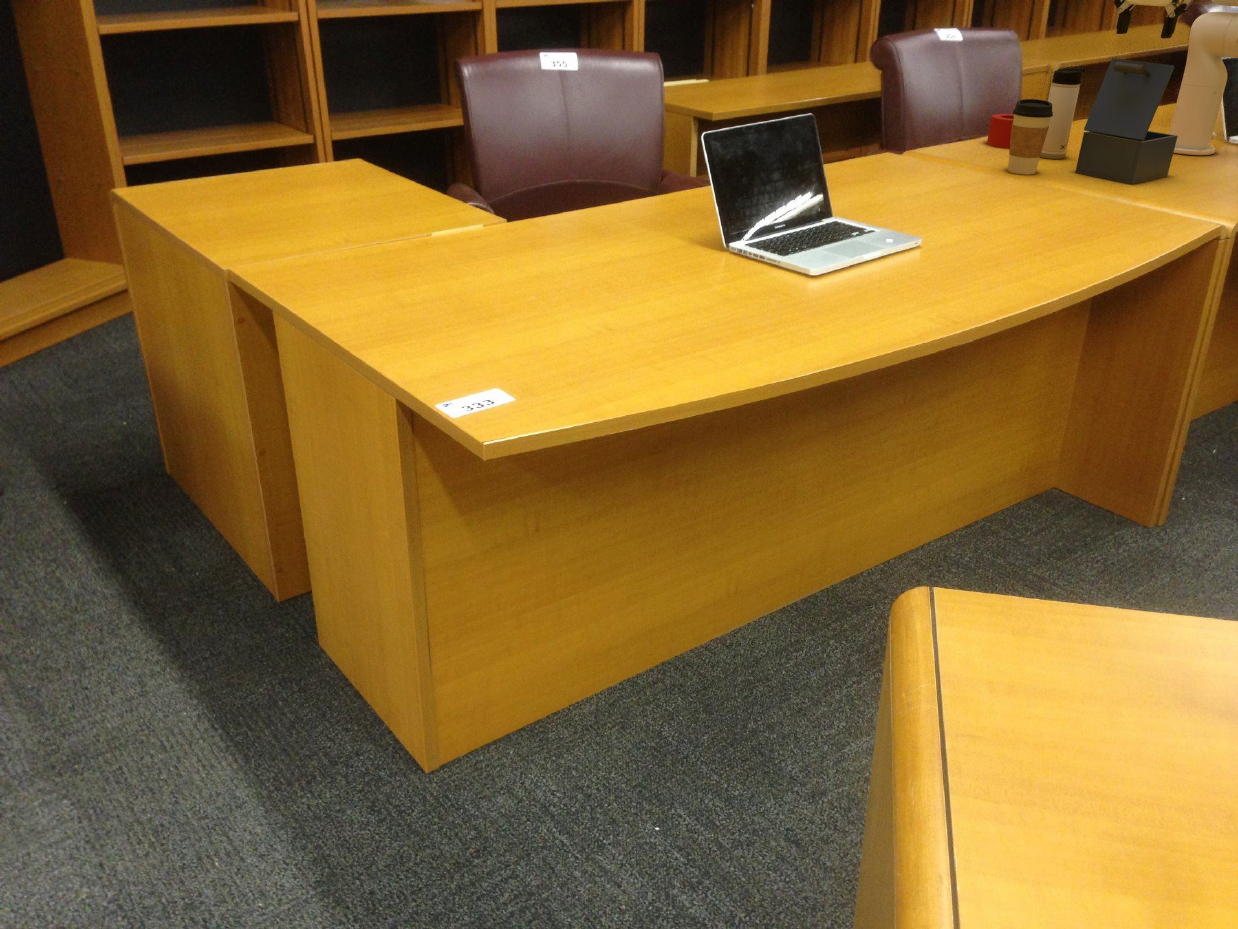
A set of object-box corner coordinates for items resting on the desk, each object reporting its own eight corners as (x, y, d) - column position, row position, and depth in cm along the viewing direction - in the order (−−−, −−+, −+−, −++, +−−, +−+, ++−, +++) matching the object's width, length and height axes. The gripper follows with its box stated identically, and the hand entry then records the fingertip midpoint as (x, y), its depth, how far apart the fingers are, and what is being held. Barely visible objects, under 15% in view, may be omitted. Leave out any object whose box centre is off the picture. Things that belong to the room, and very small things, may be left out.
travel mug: (1068, 160, 247) (1087, 70, 238) (1039, 158, 248) (1057, 68, 239) (1064, 154, 253) (1082, 66, 243) (1035, 153, 254) (1052, 65, 244)
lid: (1113, 59, 227) (1102, 50, 223) (1174, 66, 218) (1164, 58, 214) (1085, 130, 231) (1073, 123, 227) (1143, 140, 222) (1132, 133, 218)
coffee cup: (1041, 169, 237) (1055, 100, 230) (1041, 177, 230) (1055, 105, 223) (1002, 166, 240) (1014, 97, 233) (1001, 173, 233) (1014, 103, 226)
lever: (982, 145, 261) (987, 117, 258) (991, 139, 268) (996, 112, 265) (1058, 154, 253) (1064, 125, 250) (1065, 147, 260) (1071, 120, 257)
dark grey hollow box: (1110, 165, 243) (1119, 125, 239) (1167, 176, 233) (1177, 135, 229) (1075, 172, 235) (1083, 132, 231) (1132, 184, 226) (1142, 142, 221)
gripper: (1217, -55, 206) (1193, 39, 214) (1134, -58, 219) (1114, 31, 226) (1198, -55, 202) (1174, 40, 210) (1114, -58, 214) (1095, 32, 222)
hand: (1143, 35), depth 218 cm, fingers open, 9 cm apart
